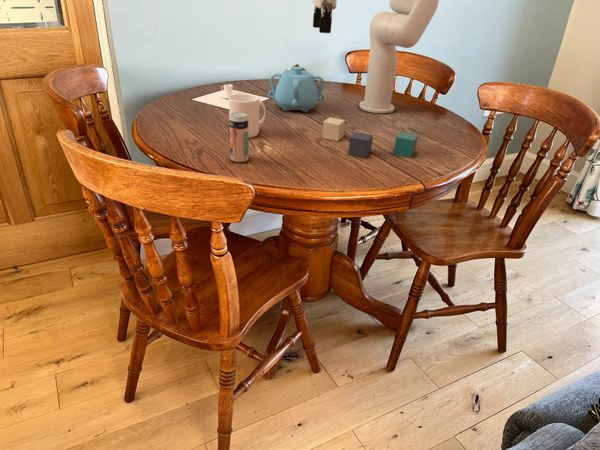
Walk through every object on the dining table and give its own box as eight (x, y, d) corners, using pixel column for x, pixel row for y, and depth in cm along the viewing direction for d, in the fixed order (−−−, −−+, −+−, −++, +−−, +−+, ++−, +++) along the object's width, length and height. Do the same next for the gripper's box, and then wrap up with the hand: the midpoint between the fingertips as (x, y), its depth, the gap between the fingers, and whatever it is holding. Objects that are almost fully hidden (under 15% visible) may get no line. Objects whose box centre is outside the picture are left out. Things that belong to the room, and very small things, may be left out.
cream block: (328, 133, 141) (329, 117, 139) (343, 136, 139) (345, 120, 137) (322, 138, 137) (323, 121, 135) (337, 141, 136) (339, 124, 133)
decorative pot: (263, 104, 164) (264, 64, 157) (300, 98, 172) (302, 60, 165) (290, 117, 153) (291, 75, 146) (328, 110, 161) (331, 70, 154)
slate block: (353, 148, 131) (355, 131, 129) (370, 152, 130) (373, 135, 127) (348, 154, 127) (349, 137, 125) (365, 158, 126) (367, 140, 123)
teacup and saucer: (245, 96, 170) (245, 85, 168) (231, 101, 164) (231, 89, 162) (227, 92, 174) (227, 81, 172) (213, 96, 168) (212, 85, 166)
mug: (274, 133, 139) (274, 97, 133) (240, 140, 132) (239, 103, 126) (257, 125, 144) (257, 90, 139) (224, 132, 137) (223, 96, 132)
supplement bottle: (230, 155, 122) (229, 111, 116) (248, 156, 123) (248, 111, 116) (229, 163, 118) (228, 117, 112) (248, 163, 119) (248, 117, 112)
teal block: (397, 148, 133) (400, 131, 130) (415, 151, 131) (418, 134, 129) (393, 154, 129) (396, 137, 127) (411, 157, 127) (414, 140, 125)
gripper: (347, -36, 119) (340, 35, 127) (332, -38, 133) (327, 26, 142) (319, -38, 117) (314, 34, 126) (307, -40, 132) (303, 25, 141)
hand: (321, 30), depth 134 cm, fingers open, 9 cm apart
